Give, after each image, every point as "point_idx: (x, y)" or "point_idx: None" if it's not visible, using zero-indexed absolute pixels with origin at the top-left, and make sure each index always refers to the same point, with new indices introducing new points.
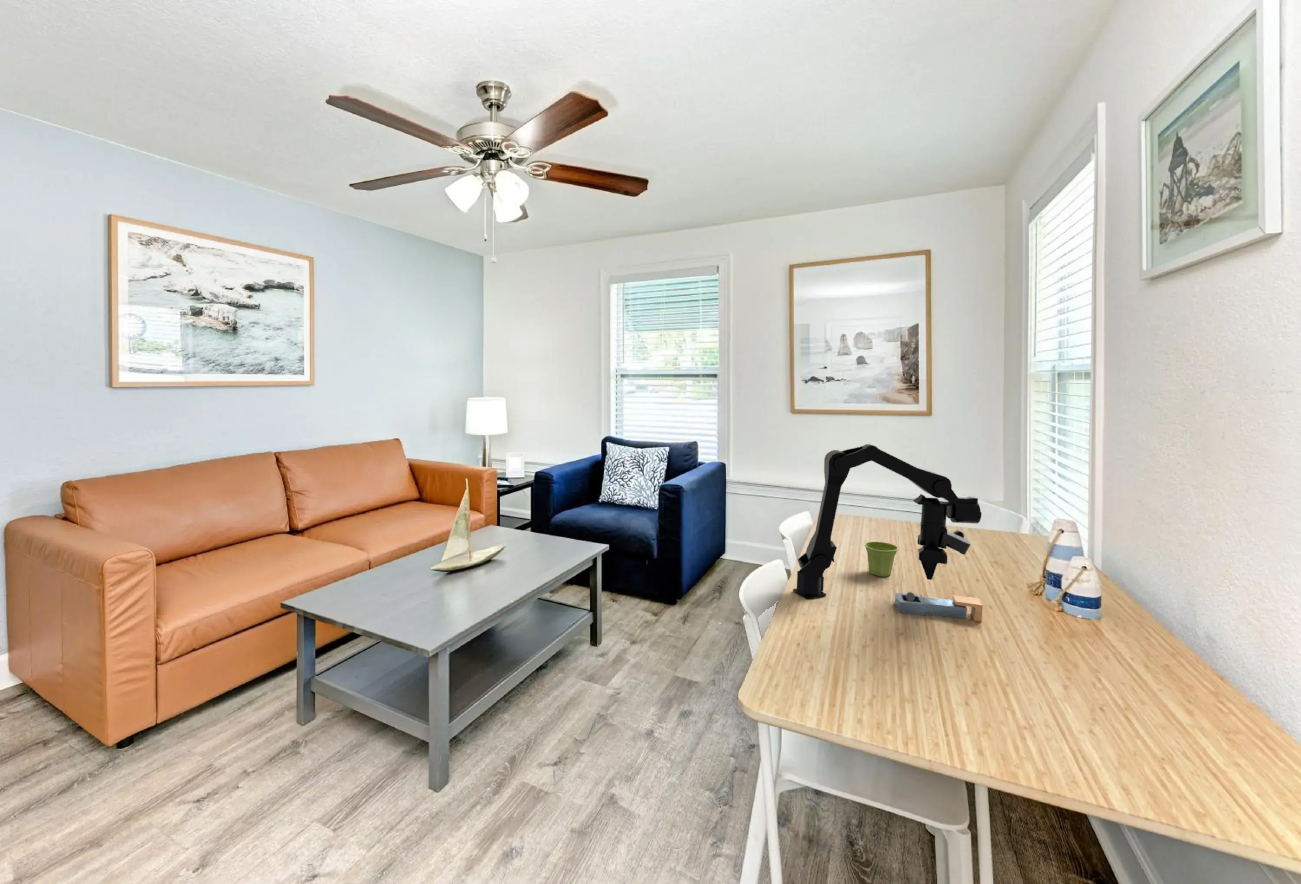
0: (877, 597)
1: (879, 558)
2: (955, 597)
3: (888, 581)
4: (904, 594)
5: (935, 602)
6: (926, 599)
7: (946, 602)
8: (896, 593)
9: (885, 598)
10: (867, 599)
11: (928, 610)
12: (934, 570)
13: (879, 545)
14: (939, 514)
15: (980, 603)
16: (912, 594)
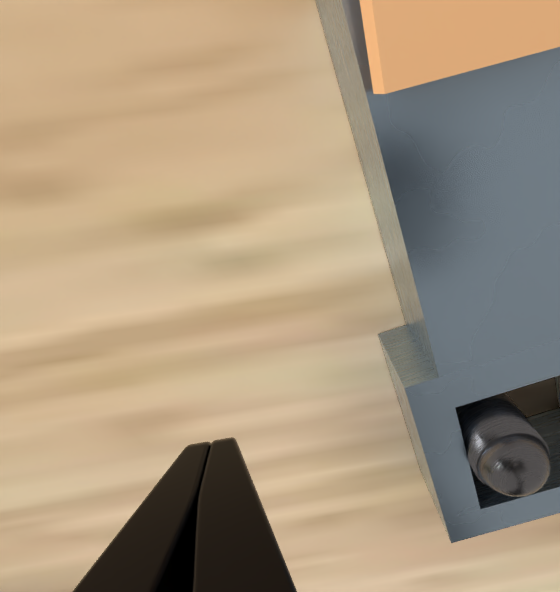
0: (375, 558)
1: None
2: (471, 43)
3: (6, 579)
4: (458, 492)
5: (550, 252)
6: (496, 336)
7: (492, 148)
8: (467, 535)
9: (364, 526)
10: (444, 584)
11: None
12: (290, 576)
13: None
14: None
15: None
16: (545, 460)
